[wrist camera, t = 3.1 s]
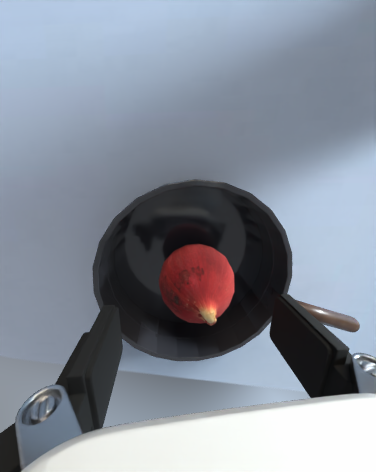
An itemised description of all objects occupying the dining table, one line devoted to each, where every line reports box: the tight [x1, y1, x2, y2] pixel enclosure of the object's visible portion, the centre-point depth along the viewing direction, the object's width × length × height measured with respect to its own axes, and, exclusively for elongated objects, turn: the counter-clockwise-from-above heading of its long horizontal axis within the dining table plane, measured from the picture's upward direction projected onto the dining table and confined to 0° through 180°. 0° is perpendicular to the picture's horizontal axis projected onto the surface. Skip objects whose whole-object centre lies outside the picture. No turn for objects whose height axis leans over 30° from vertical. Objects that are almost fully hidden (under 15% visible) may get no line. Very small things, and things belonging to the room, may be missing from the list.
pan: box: [93, 180, 292, 361], centre depth 16 cm, size 15×15×4 cm
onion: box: [159, 244, 234, 326], centre depth 14 cm, size 6×6×8 cm
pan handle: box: [296, 300, 360, 332], centre depth 17 cm, size 9×1×1 cm, turn 69°
